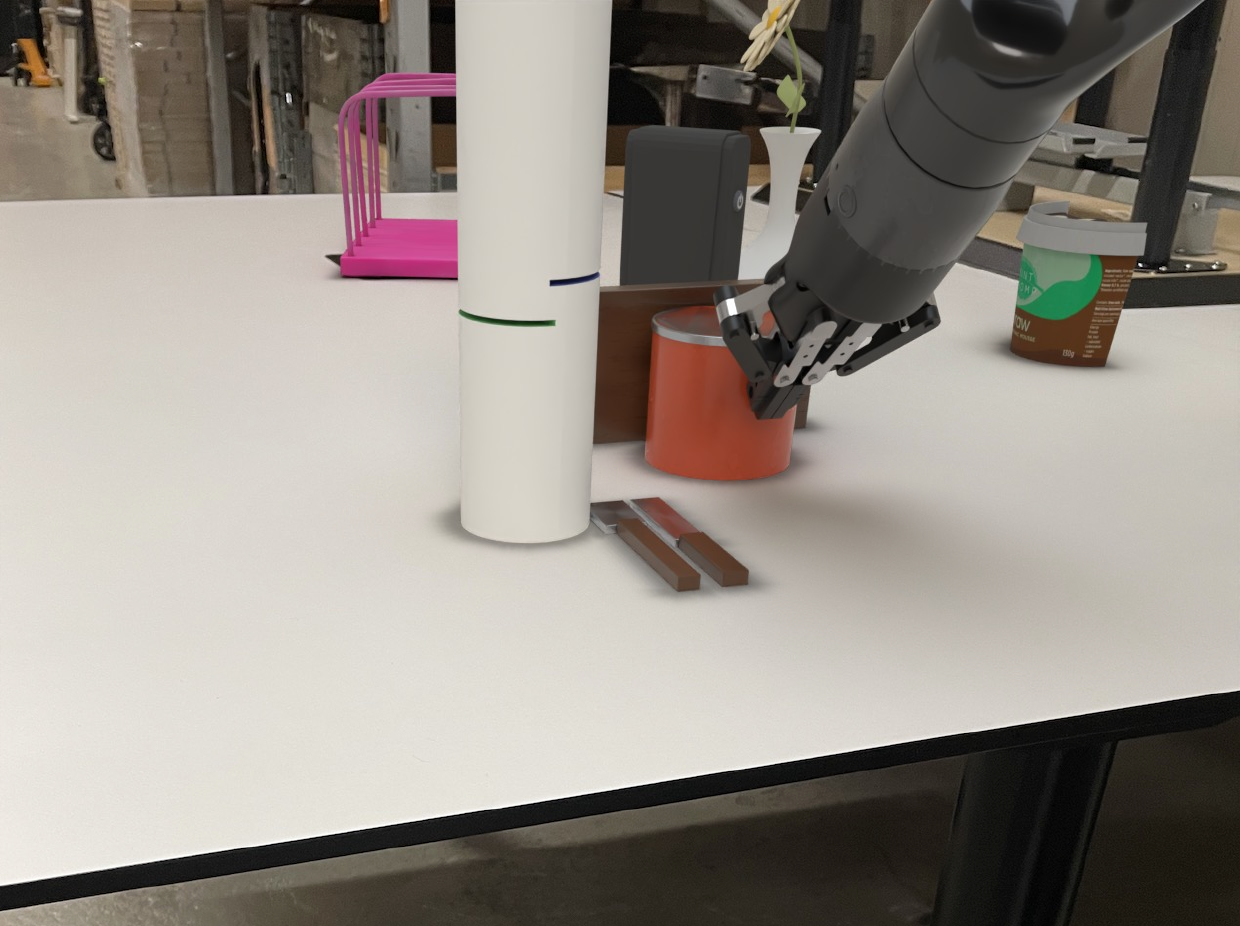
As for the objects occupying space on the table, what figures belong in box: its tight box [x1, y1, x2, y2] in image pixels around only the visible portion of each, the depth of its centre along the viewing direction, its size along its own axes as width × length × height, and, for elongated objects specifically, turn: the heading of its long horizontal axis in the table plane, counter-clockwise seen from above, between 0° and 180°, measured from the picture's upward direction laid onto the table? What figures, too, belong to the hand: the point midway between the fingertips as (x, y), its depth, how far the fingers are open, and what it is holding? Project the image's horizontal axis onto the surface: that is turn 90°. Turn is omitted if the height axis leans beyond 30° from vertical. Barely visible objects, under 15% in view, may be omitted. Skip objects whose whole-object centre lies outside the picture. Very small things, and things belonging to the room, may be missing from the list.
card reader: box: [618, 124, 752, 286], centre depth 109 cm, size 9×4×15 cm, turn 57°
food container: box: [1009, 200, 1148, 368], centre depth 109 cm, size 12×6×10 cm, turn 10°
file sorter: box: [337, 72, 458, 279], centre depth 140 cm, size 17×25×16 cm
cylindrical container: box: [454, 0, 613, 544], centre depth 71 cm, size 7×7×25 cm
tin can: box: [644, 305, 797, 482], centre depth 86 cm, size 9×9×8 cm
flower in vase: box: [738, 0, 822, 280], centre depth 116 cm, size 13×11×25 cm
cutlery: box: [590, 496, 750, 593], centre depth 75 cm, size 13×5×1 cm, turn 16°
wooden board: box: [593, 279, 812, 445], centre depth 90 cm, size 16×2×9 cm, turn 106°
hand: (763, 404), depth 81 cm, fingers closed
